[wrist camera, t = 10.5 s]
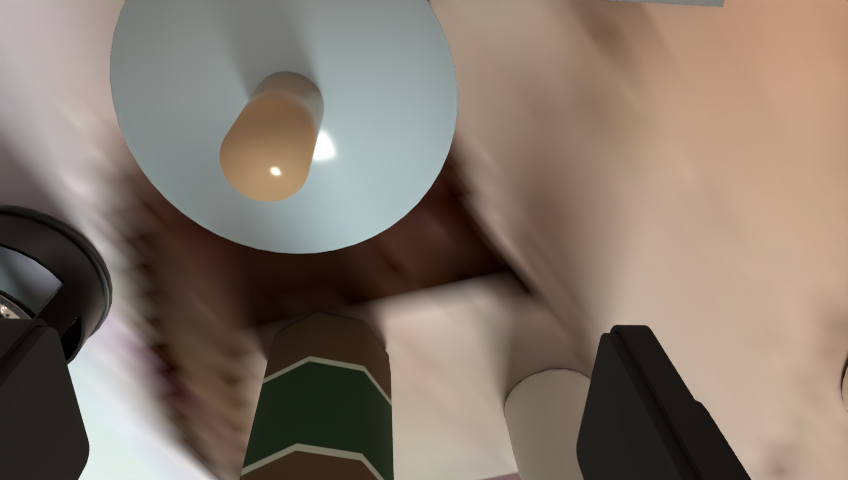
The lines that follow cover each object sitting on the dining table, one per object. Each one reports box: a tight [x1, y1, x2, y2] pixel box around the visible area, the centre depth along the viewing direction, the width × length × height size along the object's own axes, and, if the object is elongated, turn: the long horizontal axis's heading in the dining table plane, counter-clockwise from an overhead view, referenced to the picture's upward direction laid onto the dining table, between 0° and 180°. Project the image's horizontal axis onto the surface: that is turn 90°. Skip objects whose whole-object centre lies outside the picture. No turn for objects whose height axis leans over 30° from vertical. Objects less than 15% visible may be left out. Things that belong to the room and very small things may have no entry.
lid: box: [110, 0, 457, 254], centre depth 23 cm, size 14×14×7 cm
